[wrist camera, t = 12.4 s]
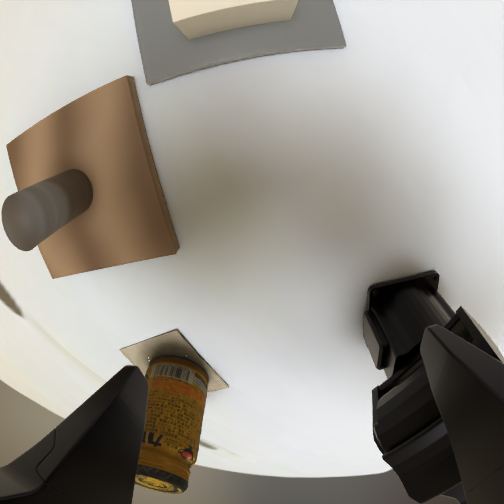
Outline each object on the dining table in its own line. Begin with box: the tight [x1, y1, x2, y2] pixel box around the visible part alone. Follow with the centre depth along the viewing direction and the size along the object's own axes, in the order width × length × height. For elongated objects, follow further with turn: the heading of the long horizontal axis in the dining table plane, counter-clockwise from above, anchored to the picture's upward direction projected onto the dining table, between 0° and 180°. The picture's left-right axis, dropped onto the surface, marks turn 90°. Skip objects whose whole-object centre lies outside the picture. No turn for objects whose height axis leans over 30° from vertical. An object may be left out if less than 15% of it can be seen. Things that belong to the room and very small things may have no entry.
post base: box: [2, 75, 179, 279], centre depth 14 cm, size 12×12×7 cm
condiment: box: [120, 330, 228, 494], centre depth 20 cm, size 7×8×12 cm
